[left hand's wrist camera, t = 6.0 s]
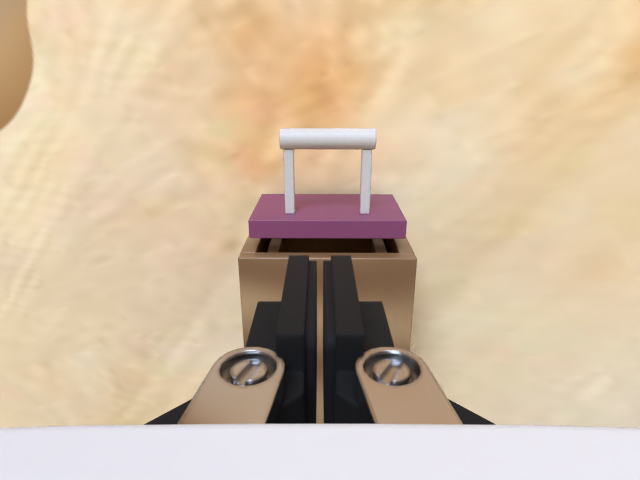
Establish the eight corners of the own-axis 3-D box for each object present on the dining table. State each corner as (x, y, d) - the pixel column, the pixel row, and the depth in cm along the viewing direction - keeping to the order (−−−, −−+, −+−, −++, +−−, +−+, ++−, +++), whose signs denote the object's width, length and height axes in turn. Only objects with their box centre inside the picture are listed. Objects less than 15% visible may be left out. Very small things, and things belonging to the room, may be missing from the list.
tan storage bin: (256, 216, 35) (237, 257, 28) (397, 217, 35) (417, 258, 27) (264, 373, 40) (250, 445, 33) (387, 373, 40) (402, 446, 33)
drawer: (258, 120, 32) (243, 131, 26) (396, 120, 32) (413, 131, 26) (268, 347, 38) (258, 397, 32) (383, 347, 38) (394, 398, 32)
